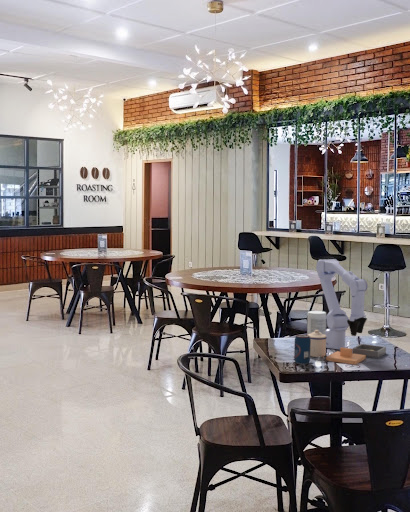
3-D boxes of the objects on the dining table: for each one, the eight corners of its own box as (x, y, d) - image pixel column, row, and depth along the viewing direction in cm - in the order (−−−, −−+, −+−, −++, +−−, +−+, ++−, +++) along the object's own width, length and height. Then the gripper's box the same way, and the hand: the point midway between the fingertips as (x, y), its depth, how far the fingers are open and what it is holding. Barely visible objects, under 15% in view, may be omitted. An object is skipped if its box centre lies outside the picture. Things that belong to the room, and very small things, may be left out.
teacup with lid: (326, 353, 298) (327, 328, 298) (325, 358, 290) (326, 332, 289) (300, 351, 301) (301, 327, 301) (298, 356, 293) (299, 330, 292)
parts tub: (352, 354, 297) (352, 348, 297) (360, 350, 307) (361, 343, 307) (378, 358, 290) (378, 351, 290) (385, 353, 301) (386, 347, 300)
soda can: (291, 361, 282) (291, 334, 281) (305, 360, 285) (305, 333, 284) (298, 365, 276) (299, 337, 275) (313, 364, 278) (313, 336, 277)
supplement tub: (329, 341, 326) (330, 312, 325) (316, 343, 321) (316, 314, 320) (316, 338, 334) (317, 310, 333) (303, 339, 329) (303, 311, 328)
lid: (326, 360, 285) (326, 349, 285) (336, 354, 296) (337, 343, 296) (355, 364, 278) (356, 353, 277) (365, 358, 289) (366, 347, 289)
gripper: (360, 308, 288) (359, 337, 289) (371, 304, 300) (370, 332, 302) (345, 306, 292) (344, 335, 293) (356, 302, 304) (355, 330, 305)
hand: (356, 334), depth 298 cm, fingers open, 7 cm apart
